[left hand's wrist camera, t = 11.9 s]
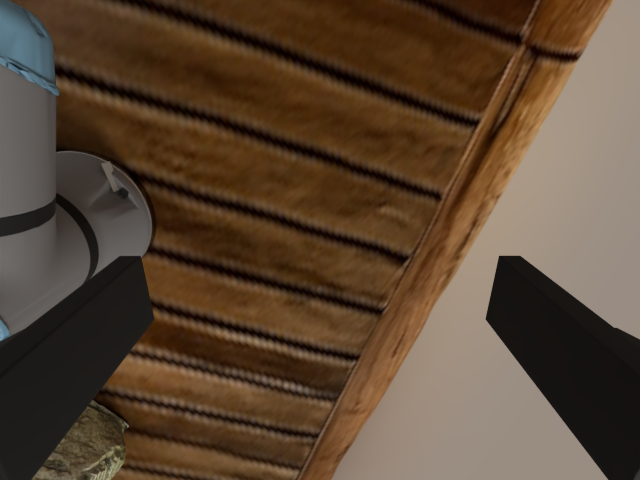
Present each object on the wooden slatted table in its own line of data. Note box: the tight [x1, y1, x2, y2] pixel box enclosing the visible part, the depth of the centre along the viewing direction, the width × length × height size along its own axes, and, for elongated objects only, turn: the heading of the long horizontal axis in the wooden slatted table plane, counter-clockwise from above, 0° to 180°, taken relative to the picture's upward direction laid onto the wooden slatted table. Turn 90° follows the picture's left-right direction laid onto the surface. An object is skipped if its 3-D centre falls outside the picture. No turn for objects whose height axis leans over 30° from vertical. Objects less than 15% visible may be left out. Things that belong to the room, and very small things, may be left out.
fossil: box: [32, 400, 129, 480], centre depth 46 cm, size 9×18×15 cm, turn 65°
